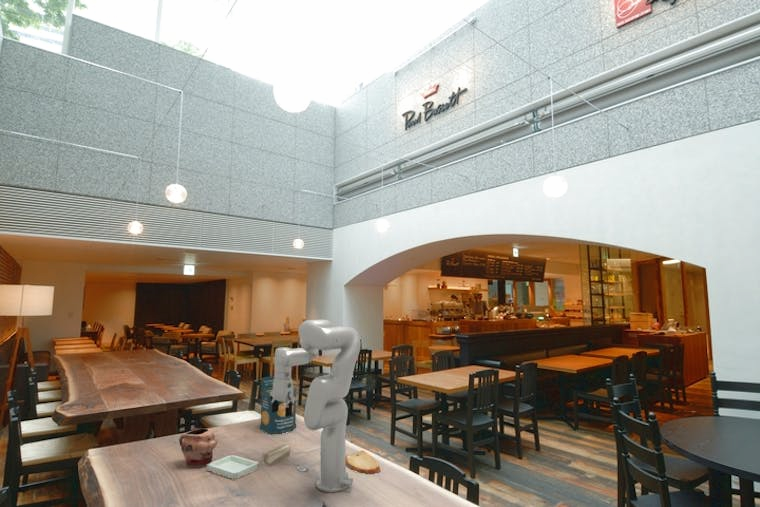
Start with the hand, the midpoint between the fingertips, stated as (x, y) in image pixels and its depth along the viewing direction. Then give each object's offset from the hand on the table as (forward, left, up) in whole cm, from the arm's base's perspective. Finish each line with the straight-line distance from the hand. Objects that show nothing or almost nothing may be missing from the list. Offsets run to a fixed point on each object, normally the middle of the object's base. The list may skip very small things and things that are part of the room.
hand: (281, 413), depth 177 cm
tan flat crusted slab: (-35, -14, -20) cm, 43 cm away
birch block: (+1, +2, -20) cm, 20 cm away
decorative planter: (+30, +22, -20) cm, 42 cm away
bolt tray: (+10, +18, -20) cm, 28 cm away
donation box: (+33, -30, -20) cm, 49 cm away
